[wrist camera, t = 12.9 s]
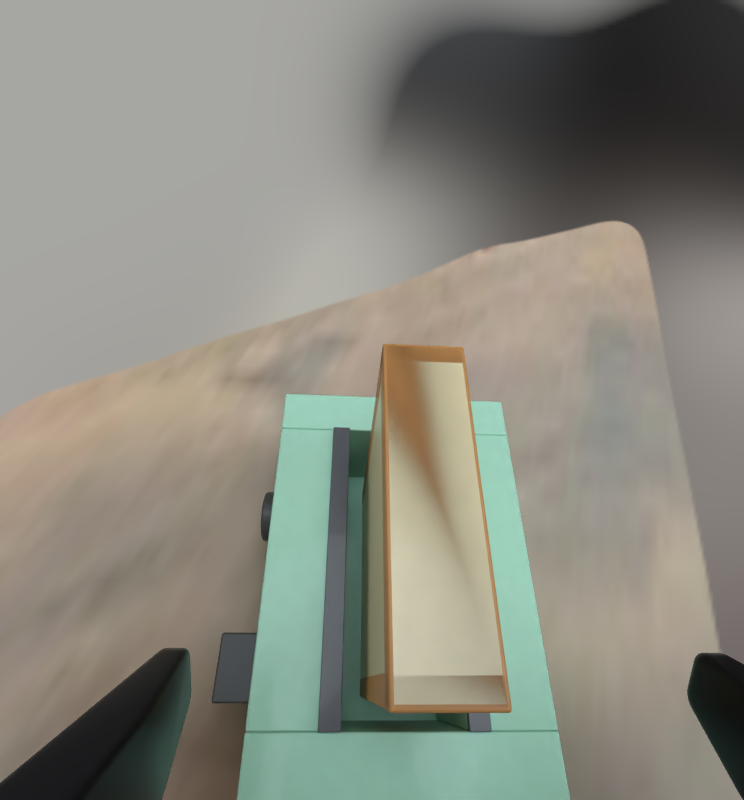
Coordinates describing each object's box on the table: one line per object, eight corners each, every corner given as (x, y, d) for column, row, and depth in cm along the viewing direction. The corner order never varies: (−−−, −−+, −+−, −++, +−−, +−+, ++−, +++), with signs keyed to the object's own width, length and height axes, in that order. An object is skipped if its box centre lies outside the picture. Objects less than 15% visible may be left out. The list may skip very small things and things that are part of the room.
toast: (416, 697, 16) (513, 712, 7) (359, 697, 16) (388, 713, 7) (407, 494, 20) (463, 346, 11) (362, 492, 20) (382, 342, 11)
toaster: (508, 772, 16) (575, 806, 11) (226, 774, 15) (182, 810, 11) (469, 455, 22) (502, 398, 18) (269, 449, 22) (253, 389, 17)
